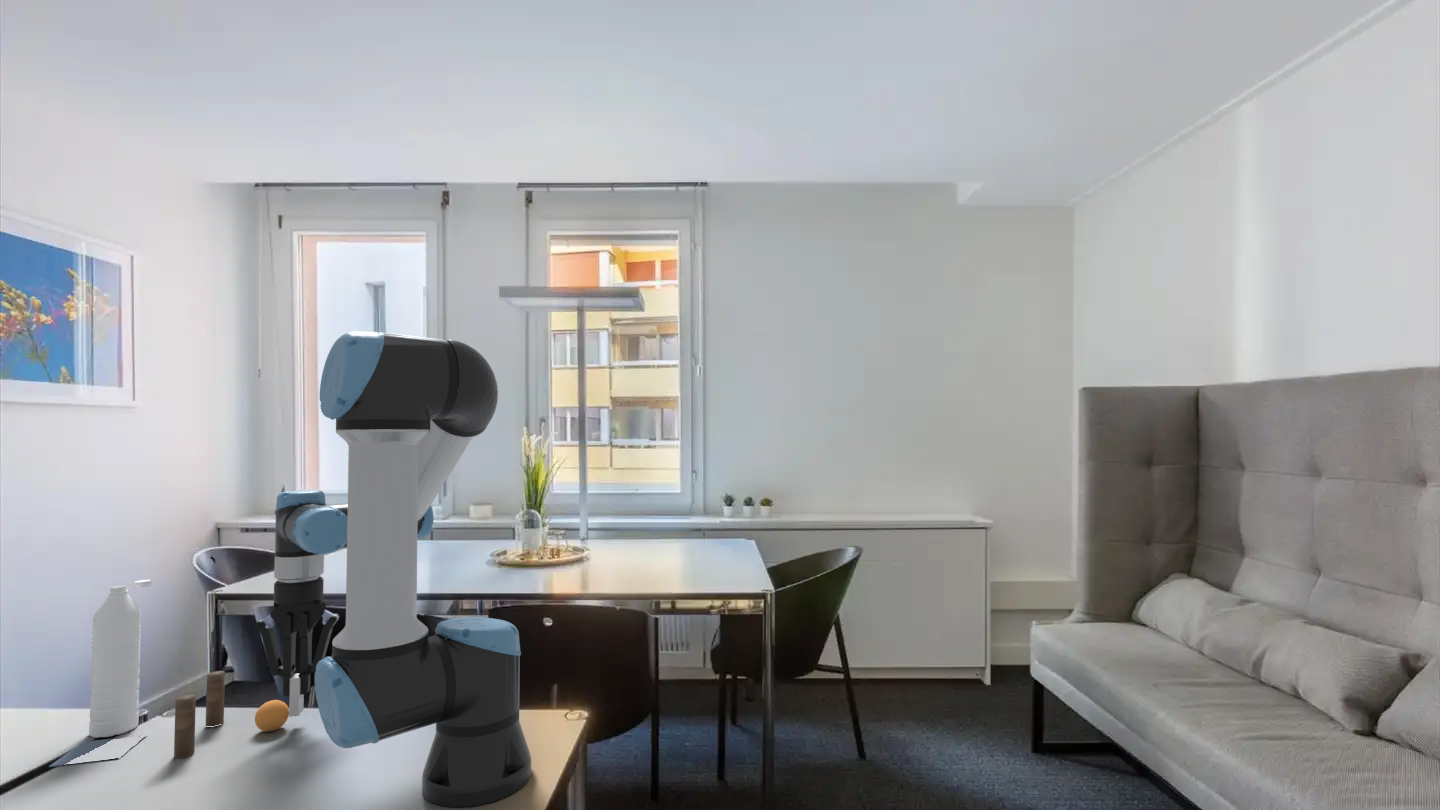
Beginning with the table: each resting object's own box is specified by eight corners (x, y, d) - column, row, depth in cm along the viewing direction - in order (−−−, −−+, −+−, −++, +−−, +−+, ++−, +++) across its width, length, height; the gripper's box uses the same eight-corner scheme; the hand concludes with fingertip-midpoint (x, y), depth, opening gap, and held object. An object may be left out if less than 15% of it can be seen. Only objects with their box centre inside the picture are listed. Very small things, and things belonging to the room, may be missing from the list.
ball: (276, 700, 118) (245, 714, 117) (287, 727, 118) (256, 741, 117) (286, 690, 123) (256, 704, 122) (297, 716, 123) (267, 730, 122)
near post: (190, 757, 110) (191, 699, 110) (170, 759, 109) (172, 701, 110) (197, 750, 112) (198, 693, 113) (178, 752, 112) (179, 695, 112)
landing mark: (119, 758, 109) (119, 757, 109) (48, 767, 107) (48, 766, 107) (147, 735, 118) (147, 734, 118) (82, 743, 115) (82, 741, 115)
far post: (220, 726, 121) (221, 674, 122) (203, 728, 121) (204, 676, 121) (226, 721, 124) (227, 670, 124) (209, 723, 123) (210, 671, 124)
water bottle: (109, 739, 117) (114, 590, 118) (78, 737, 118) (83, 589, 119) (160, 719, 125) (164, 580, 126) (130, 716, 126) (134, 579, 128)
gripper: (345, 571, 128) (342, 701, 127) (264, 575, 124) (261, 709, 123) (334, 580, 120) (331, 717, 120) (249, 584, 117) (245, 726, 116)
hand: (296, 713), depth 121 cm, fingers closed
